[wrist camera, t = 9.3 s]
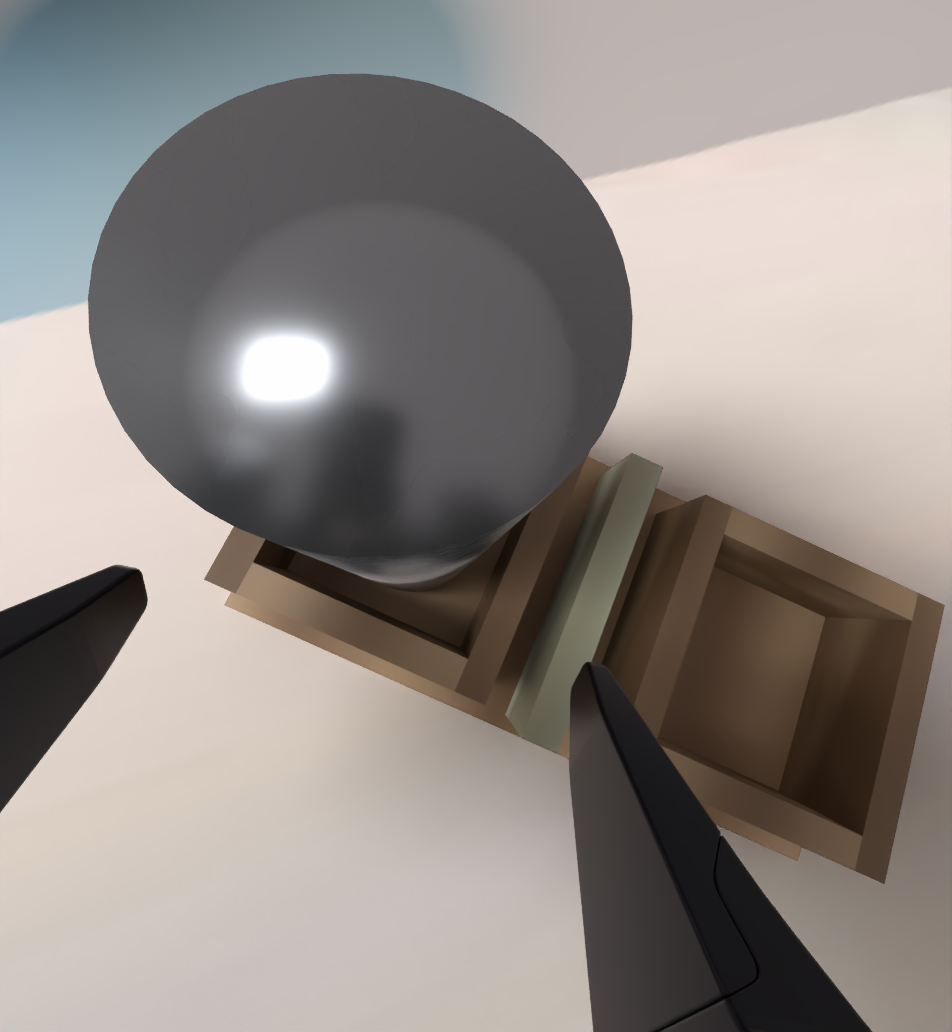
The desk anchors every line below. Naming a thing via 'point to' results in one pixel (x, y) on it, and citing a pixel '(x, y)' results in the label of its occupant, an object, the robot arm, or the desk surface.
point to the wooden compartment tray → (653, 649)
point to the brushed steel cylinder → (361, 321)
